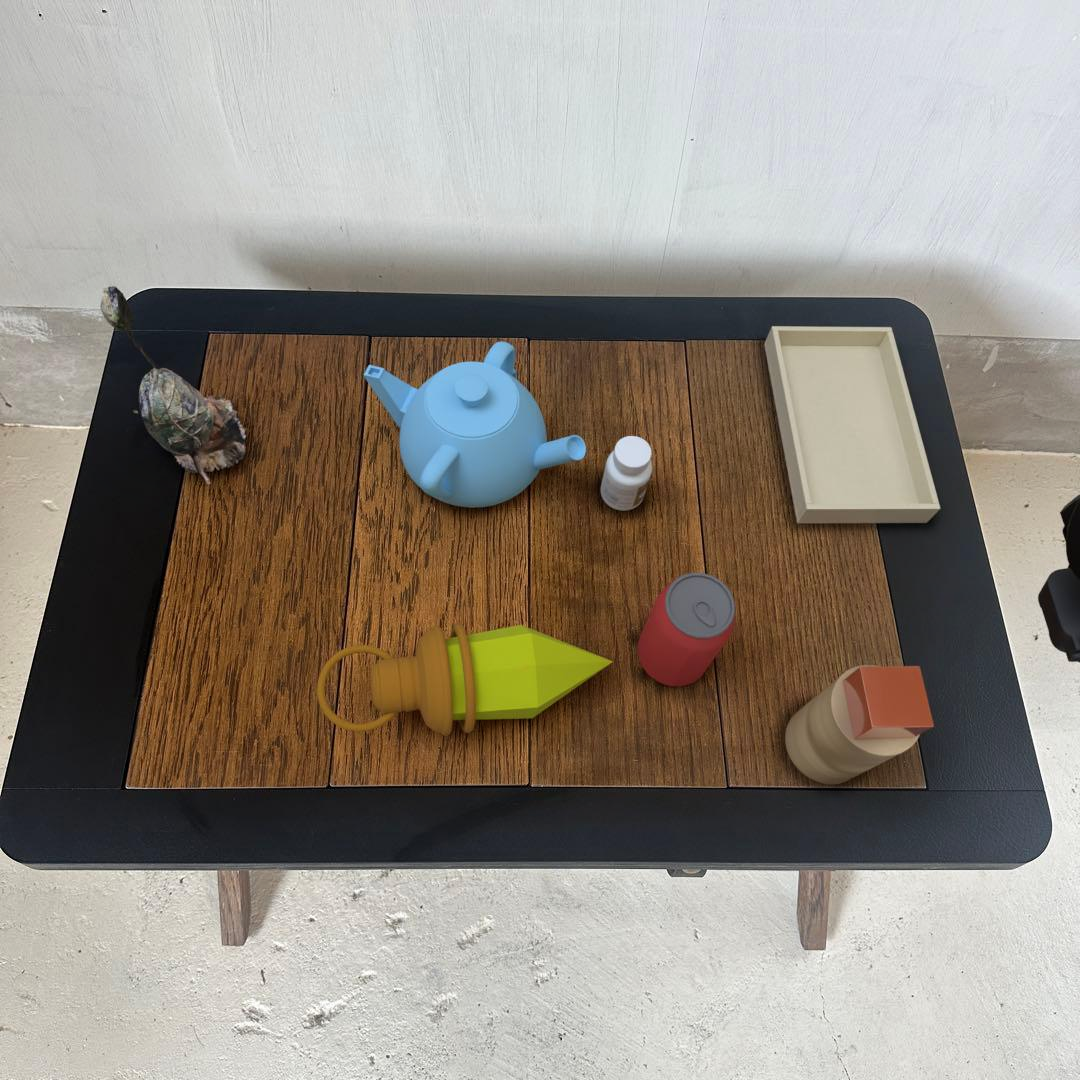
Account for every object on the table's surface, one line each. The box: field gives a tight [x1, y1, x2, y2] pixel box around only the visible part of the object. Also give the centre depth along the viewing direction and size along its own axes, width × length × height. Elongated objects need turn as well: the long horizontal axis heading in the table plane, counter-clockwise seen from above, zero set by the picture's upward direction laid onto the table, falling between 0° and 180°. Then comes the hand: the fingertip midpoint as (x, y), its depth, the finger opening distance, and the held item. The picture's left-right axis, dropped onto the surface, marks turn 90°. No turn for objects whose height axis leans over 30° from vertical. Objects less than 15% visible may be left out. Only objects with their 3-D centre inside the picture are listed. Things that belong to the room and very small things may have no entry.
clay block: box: [843, 665, 935, 739], centre depth 62 cm, size 4×4×4 cm
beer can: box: [637, 572, 736, 687], centre depth 72 cm, size 7×7×12 cm
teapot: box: [363, 340, 587, 508], centre depth 81 cm, size 15×17×11 cm
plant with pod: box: [99, 285, 247, 486], centre depth 76 cm, size 8×11×20 cm
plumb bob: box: [316, 623, 614, 737], centre depth 71 cm, size 9×9×25 cm
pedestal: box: [784, 664, 921, 785], centre depth 69 cm, size 7×7×12 cm
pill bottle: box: [600, 435, 653, 512], centre depth 81 cm, size 4×4×8 cm
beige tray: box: [763, 325, 941, 524], centre depth 88 cm, size 22×13×3 cm, turn 2°
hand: (1076, 658), depth 65 cm, fingers open, 9 cm apart
